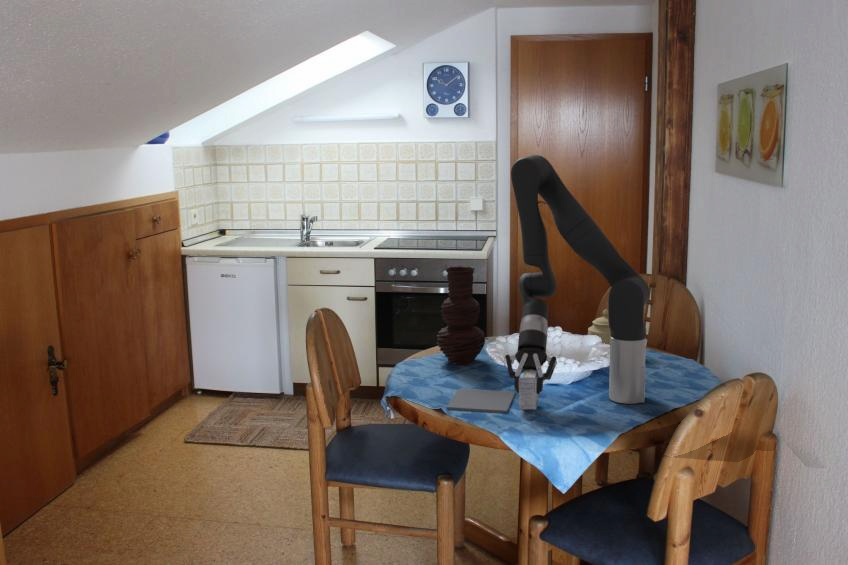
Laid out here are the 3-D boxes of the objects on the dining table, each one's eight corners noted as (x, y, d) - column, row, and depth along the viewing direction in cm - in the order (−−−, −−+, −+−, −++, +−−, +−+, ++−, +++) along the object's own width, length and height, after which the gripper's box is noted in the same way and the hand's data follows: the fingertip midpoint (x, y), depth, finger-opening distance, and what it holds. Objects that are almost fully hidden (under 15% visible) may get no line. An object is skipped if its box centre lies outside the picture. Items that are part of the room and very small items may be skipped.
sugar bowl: (627, 348, 270) (628, 304, 267) (639, 357, 259) (640, 311, 257) (583, 350, 269) (584, 306, 266) (593, 359, 258) (594, 313, 255)
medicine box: (536, 410, 209) (536, 377, 208) (519, 409, 210) (518, 377, 209) (538, 400, 217) (538, 368, 215) (521, 399, 218) (521, 368, 216)
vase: (461, 371, 248) (460, 274, 243) (427, 361, 259) (425, 268, 254) (495, 361, 258) (495, 268, 253) (461, 352, 270) (460, 262, 264)
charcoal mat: (515, 393, 226) (515, 391, 226) (506, 412, 211) (506, 410, 211) (458, 390, 230) (458, 388, 230) (446, 409, 215) (446, 407, 215)
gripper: (505, 327, 219) (498, 384, 210) (558, 328, 215) (555, 386, 206) (508, 341, 225) (502, 397, 216) (560, 343, 221) (556, 400, 212)
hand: (528, 391), depth 211 cm, fingers closed on medicine box, 4 cm apart
